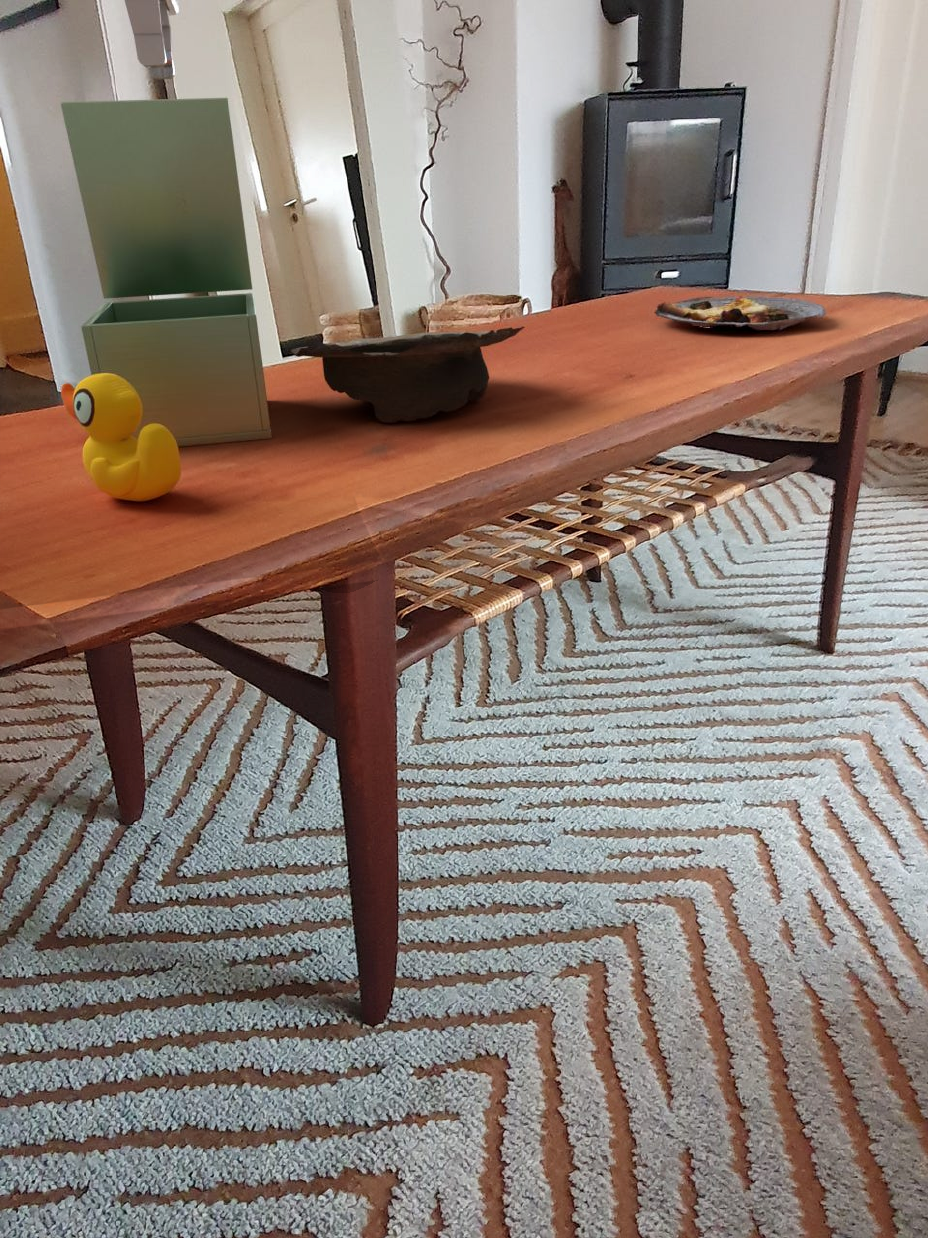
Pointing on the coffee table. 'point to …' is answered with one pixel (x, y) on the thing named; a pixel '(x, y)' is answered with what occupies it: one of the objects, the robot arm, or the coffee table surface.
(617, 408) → the coffee table surface
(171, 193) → the breadbin lid
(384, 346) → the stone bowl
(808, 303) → the food plate
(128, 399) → the duckling
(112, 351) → the box
